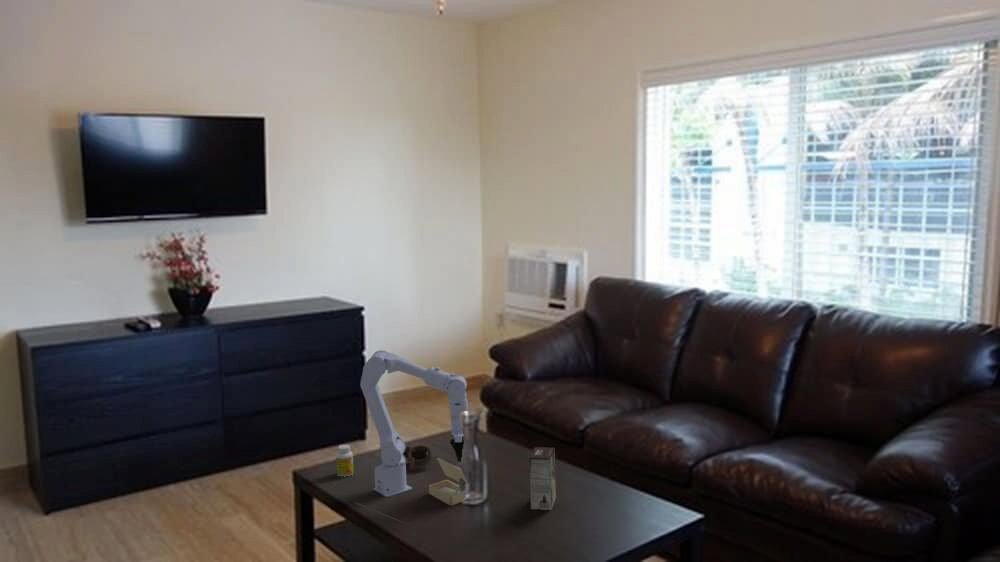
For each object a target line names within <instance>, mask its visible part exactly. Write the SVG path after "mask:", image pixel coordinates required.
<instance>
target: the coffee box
mask: <svg viewBox="0 0 1000 562" xmlns="http://www.w3.org/2000/svg"><path fill="white" fill-rule="evenodd" d="M529 476H530V477H529V479H530V481H529V482H530V484H529V485H530V509H531V510H538V509H540V510H542V511H552V510H553V507H554V504H555V502H556V498H557V495H556V494H557V493H556V491H557V490H556V486H557V485H556V448H555V447H539V446H538V447H537V446H536V447H534V448H533V450H532V452H531V454H530V457H529Z"/></svg>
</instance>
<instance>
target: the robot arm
mask: <svg viewBox="0 0 1000 562" xmlns="http://www.w3.org/2000/svg"><path fill="white" fill-rule="evenodd" d="M386 371H387V374H392V373H395V372H402V373H404V374H406V375H410V376H414V377H417V378H418V379H422V380H423V382H424V384H425V385H427V386H429V387H432V388H434V389H437V390H440V391H442V392H446V393H447V395H448V398H449V400H448V404H449V405H448V406H449V415H450V426H451V428H450V433H451V434H452V436H453V439H452V438H451V439H450V441H449V443H450V446H451V447H452V449H453V450H454V453H455V457H456V460H457V461H458V462H459V463H461V457H462V449H463V444H464V440H463V436H464V434H463V430H462V426H461V421H460V414H461V412H463V411H468V412H469V405H468V404H469V403H468V398H467V397H468V395H467V386H468V382H467V380H466V378H465V377H464V376H463V375H462V374H455V373H454V372H451V373H449V372H446V371H445V370H442V369H441V368H440V366H435V367H434V366H432V367H429V368H426V367H424V366H421V365H419V364H417V363H414V362H413V361H410V360H407V359H405V358H403V357H401V356H399V355H397V354H394V353H391V352H388V351H386V350H383V349H381V350H377V351H375V352H373V354H372V356H371V357H370V358H368V360H367V361H366V363H365V364H364V366H363V367H362V374H361V378H360V385H359V386H360V389H361V391H362V394H363V396H364V397H363V398H364V399H365V402H366V404H367V407H368V409H369V413H370V416H371V418H372V421H373V423H374V427H375V429H376V432H377V434H378V436H379V447H380V449H381V451H380V453H381V454H380V458H381V462H382V463H381V464H380V465H378V466H376V467H375V468H374V488H373V490H374V491H375V492H378V493H379V494H381V495H382V496H384V497H391V496H394V495H398V494H401V493H403V492H406V491H410V490H412V489H413V487H412V486H410V485H408V484H407V468H406V467H407V466H406V457H405V456H404V454H403V453H404V452H405V449H406V447H407V446H406V445H407V444H406V443H405V441H404V440H403V439H402V438H401V436H400V435H399V433H398V431H397V430H396V429H395V427H394V424H393V422H392V419H391V416H390V414H389V411H388V409H387V405H386V403H385V401H384V397H383V395H382V392H381V389H380V387H379V381H380V380H381V377H382V376H383V375H384V374H385V373H386Z"/></svg>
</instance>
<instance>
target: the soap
mask: <svg viewBox="0 0 1000 562" xmlns="http://www.w3.org/2000/svg"><path fill="white" fill-rule="evenodd" d="M439 490H440V491H442V492H444V493H446V494H448V495H450V496H453V495H456V494H457V491H455V490H453V489H450V488H447V487H444V488H442V489H439Z"/></svg>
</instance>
